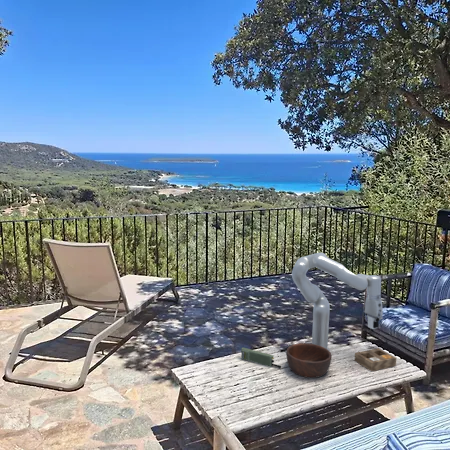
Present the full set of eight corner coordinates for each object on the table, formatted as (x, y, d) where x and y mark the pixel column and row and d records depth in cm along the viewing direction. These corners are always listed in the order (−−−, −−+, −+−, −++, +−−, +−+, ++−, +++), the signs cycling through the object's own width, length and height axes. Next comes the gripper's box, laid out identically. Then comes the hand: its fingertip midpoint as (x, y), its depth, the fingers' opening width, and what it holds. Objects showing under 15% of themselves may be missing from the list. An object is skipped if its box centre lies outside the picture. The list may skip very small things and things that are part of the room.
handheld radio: (243, 357, 244) (282, 367, 231) (240, 359, 241) (279, 370, 228) (243, 346, 242) (282, 356, 230) (240, 348, 240) (280, 359, 227)
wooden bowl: (319, 385, 212) (320, 367, 211) (277, 371, 227) (278, 353, 226) (337, 367, 232) (338, 350, 230) (298, 355, 247) (298, 339, 245)
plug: (372, 329, 240) (373, 316, 239) (367, 326, 244) (367, 313, 243) (378, 328, 242) (378, 315, 241) (372, 325, 245) (373, 312, 244)
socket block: (371, 371, 228) (372, 362, 227) (354, 360, 241) (355, 352, 240) (395, 366, 235) (396, 357, 234) (378, 355, 248) (378, 347, 247)
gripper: (389, 299, 234) (388, 330, 236) (368, 292, 249) (367, 320, 252) (379, 301, 231) (378, 332, 233) (358, 293, 246) (358, 322, 249)
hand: (372, 326), depth 242 cm, fingers closed on plug, 4 cm apart
